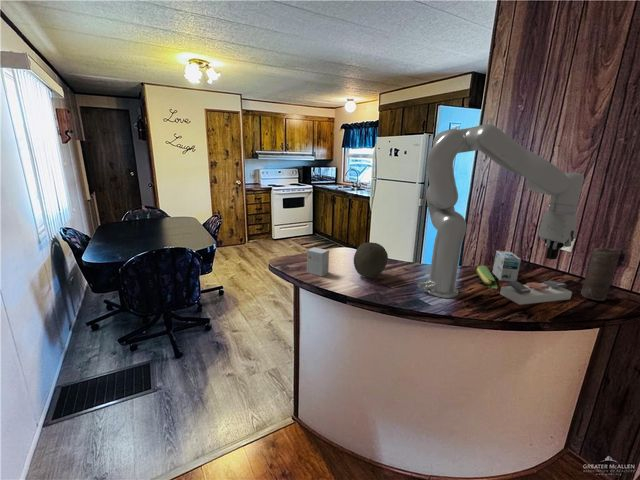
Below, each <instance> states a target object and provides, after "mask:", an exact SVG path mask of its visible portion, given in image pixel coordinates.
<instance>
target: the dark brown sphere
mask: <svg viewBox="0 0 640 480" xmlns="http://www.w3.org/2000/svg"><path fill="white" fill-rule="evenodd" d="M388 259H389V256H388V252H387V250H386V249H385V247H384V246H383V245H382V244H379V243H377V242H372V241H371V242H370V241H369V242H363V243H361V244H360V245H359V246H358V247H357V249H356V251H355V253H354V255H353V266H354V269H355V270H356V273H357V274H358V275H359V276H361V277H363V278H366V279H370V280H371V279H374V278H376V277H378V276H379V275H381V274H382V272H383V271H384V270H385V268H386V267H387V264H388Z"/></svg>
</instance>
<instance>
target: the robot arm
mask: <svg viewBox="0 0 640 480" xmlns="http://www.w3.org/2000/svg"><path fill="white" fill-rule="evenodd" d="M475 151H480V152H481V153H482V154H483V155H485V156H486V157H487V158H489V159H490V160H492V162H494V163H495V164H497V165H498V166H499V167H500V168H502V169H504V170H506V171H507V172H510V173H513V174H516V175H519V176H522V177H523V178H525V179H526V187H527V188H528V189H529V190H530V191H531V192H534V193H537V194H541V195H547V196H551V199H550V203H548V204H547V207H548V210H545V212H544V214H543V217H542V219H541V223H540V225H539V229H538V235H537V236H539V237H540V238H539V239H540V241H541V240H542V241H543V242H544V243H545V244H546V245H545V246H546V248H547V249H546V255H545V259H547V260H550V261H551V260H557V259H558V256H559V251H560V250H561V249H563V248H564V247H566V248H571V247H572V243H573V241H574V240H575V237H576V232H577V226H578V214H577V213H576V212H577V209H578V206H579V205H578V204H579V200H580V197H581V196H580V195H581V192H582V188H583V184H584V179H585V176H584V174H583V173H580V172H564V171H562V170H561V169H560V168H558V166H556V165H554V164H553V163H552V162H551V161H549V160H547V159H545V158H544V157H542V156H540V155H538V154H536V153H534V152H532V151H531V150H529V149H527V148H525V147H523V146H522V145H520V144H519V143H518V142H516V141H515V140H514V139H513V138H512V137H510V136H509V135H508V134H506V133H505V132H504V131H502V130H501V129H500V128H499V127H497V126H496V125H493V124H491V123H485V124H481V125H476V126H471V127H468V128H462V129H457V128H450V129H447V130H443V131H440V132H438V133H437V134H436V135H435V136H434V138H433V141H432V147H431V149H430V151H429V154H428V156H427V159H426V172H427V177H428V178H427V179H428V183H429V185H428V186H427V188H426V190H425V191H426V192H425V198H426V203H427V208H428V212H429V213H428V214H429V216H430V217H429V218H430V221H431V224H432V226H433V228H435V230H436V235H435V239H434V242H433V249H432V255H431V256H432V257H431V264H430V268H429V269H430V270H429V277H428V278H426V280H425V281H419V282H417V285H416V286H417V287H418V288H423V290H424V291H425V293H427V294H429V295H432V296H434V297H437V298H443V299H451V298H452V299H453V298H456V297H458V295H459V290H458V288H456V283H457V282H456V281H457V276H458V269H459V262H460V256H461V250H462V245H463V241H464V237H465V235H466V233H467V232H466V231H467V222H466V219H465V218H464V216H463V215H462V214H461V213H459V212H458V211H456V210H455V206H456V204H457V202H458V199H459V192H458V188H457V184H456V178H455V174H454V173H455V172H454V161H455V158H456V156H457V154H462V153H469V152H475Z"/></svg>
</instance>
